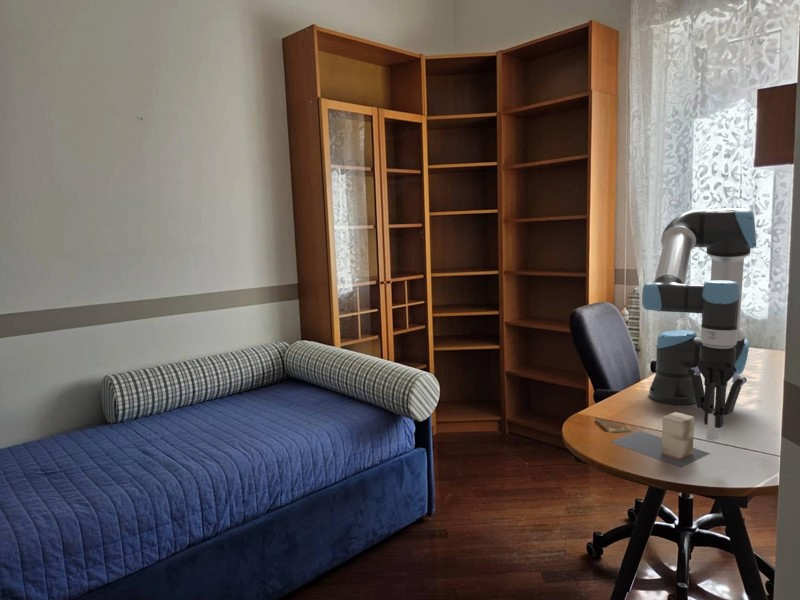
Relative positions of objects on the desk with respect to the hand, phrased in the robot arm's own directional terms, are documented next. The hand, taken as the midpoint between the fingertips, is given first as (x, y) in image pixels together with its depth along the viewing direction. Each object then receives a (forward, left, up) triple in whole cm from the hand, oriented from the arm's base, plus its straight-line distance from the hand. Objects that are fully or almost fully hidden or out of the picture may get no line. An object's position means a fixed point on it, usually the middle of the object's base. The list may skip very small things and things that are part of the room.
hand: (712, 438), depth 136 cm
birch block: (0, -9, -7) cm, 11 cm away
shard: (-3, -31, -8) cm, 32 cm away
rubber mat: (0, -14, -7) cm, 16 cm away
